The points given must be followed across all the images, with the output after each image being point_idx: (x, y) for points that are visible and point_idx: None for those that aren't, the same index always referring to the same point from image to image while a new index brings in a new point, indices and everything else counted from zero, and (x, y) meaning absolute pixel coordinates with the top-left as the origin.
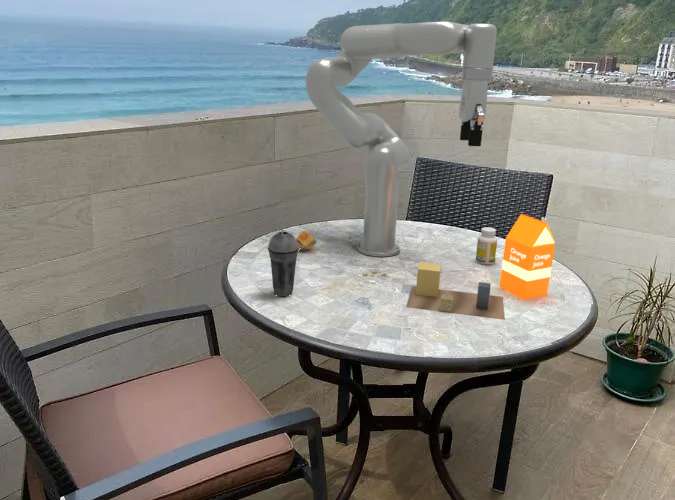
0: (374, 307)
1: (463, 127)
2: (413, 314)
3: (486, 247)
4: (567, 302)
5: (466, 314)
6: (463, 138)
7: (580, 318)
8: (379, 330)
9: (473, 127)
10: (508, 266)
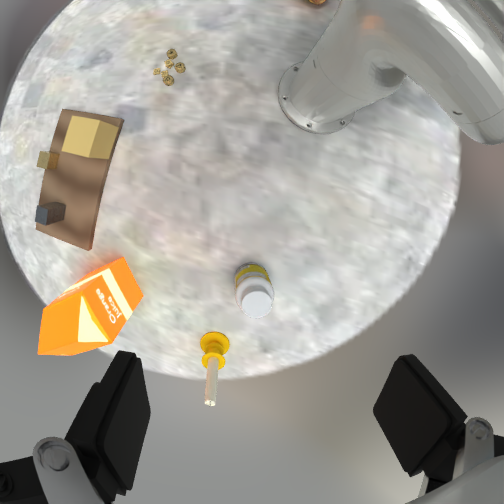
0: (82, 72)
1: (437, 423)
2: None
3: (236, 284)
4: None
5: (42, 184)
6: (394, 377)
7: None
8: (37, 85)
9: (39, 462)
10: (94, 276)
